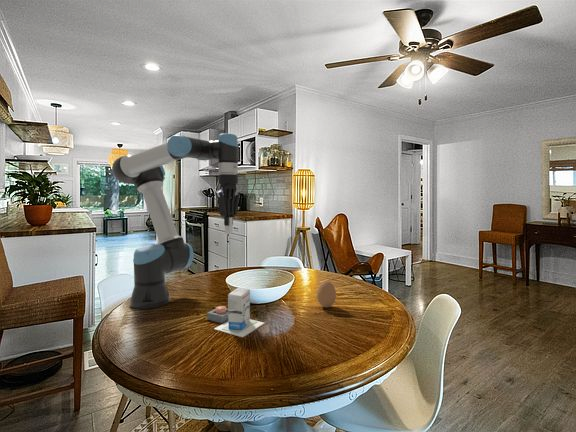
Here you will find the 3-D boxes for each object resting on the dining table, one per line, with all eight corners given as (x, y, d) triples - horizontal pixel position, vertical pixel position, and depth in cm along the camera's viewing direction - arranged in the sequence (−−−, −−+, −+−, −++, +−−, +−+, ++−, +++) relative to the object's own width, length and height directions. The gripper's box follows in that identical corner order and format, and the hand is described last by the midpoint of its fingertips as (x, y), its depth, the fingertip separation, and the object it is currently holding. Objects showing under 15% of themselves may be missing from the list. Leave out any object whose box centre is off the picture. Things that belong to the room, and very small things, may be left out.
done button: (213, 315, 120) (213, 308, 119) (220, 311, 123) (220, 305, 123) (221, 317, 118) (221, 310, 118) (228, 313, 121) (228, 307, 121)
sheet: (214, 329, 111) (214, 327, 111) (237, 317, 122) (237, 315, 122) (242, 337, 105) (242, 335, 105) (264, 323, 116) (264, 322, 116)
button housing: (207, 319, 119) (207, 312, 119) (220, 313, 125) (219, 306, 125) (222, 323, 116) (222, 316, 116) (234, 316, 122) (234, 310, 122)
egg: (322, 311, 128) (322, 284, 127) (313, 305, 135) (314, 279, 134) (339, 309, 130) (339, 282, 130) (330, 303, 137) (330, 277, 137)
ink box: (241, 330, 108) (241, 295, 108) (227, 329, 110) (227, 294, 109) (250, 320, 117) (250, 288, 116) (237, 319, 118) (237, 287, 117)
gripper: (224, 173, 122) (225, 236, 124) (245, 174, 134) (246, 232, 135) (209, 173, 126) (210, 234, 128) (231, 175, 137) (231, 231, 139)
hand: (228, 233), depth 132 cm, fingers closed
